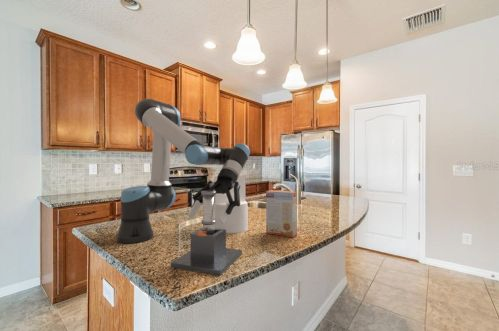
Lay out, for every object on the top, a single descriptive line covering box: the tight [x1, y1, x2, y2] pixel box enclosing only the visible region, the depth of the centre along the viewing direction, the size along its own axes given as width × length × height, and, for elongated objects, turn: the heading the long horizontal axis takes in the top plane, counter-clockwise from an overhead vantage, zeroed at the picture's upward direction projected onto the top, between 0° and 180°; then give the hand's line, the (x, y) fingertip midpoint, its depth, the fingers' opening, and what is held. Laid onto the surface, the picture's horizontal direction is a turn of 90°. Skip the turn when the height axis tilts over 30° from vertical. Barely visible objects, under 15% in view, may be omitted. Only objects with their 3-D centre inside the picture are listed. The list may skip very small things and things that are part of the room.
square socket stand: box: [170, 227, 243, 276], centre depth 82 cm, size 18×18×11 cm
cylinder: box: [214, 174, 249, 235], centre depth 122 cm, size 17×17×28 cm
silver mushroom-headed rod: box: [201, 190, 216, 235], centre depth 82 cm, size 5×5×22 cm
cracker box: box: [265, 189, 298, 238], centre depth 113 cm, size 14×6×21 cm, turn 58°
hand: (205, 219), depth 80 cm, fingers open, 13 cm apart
